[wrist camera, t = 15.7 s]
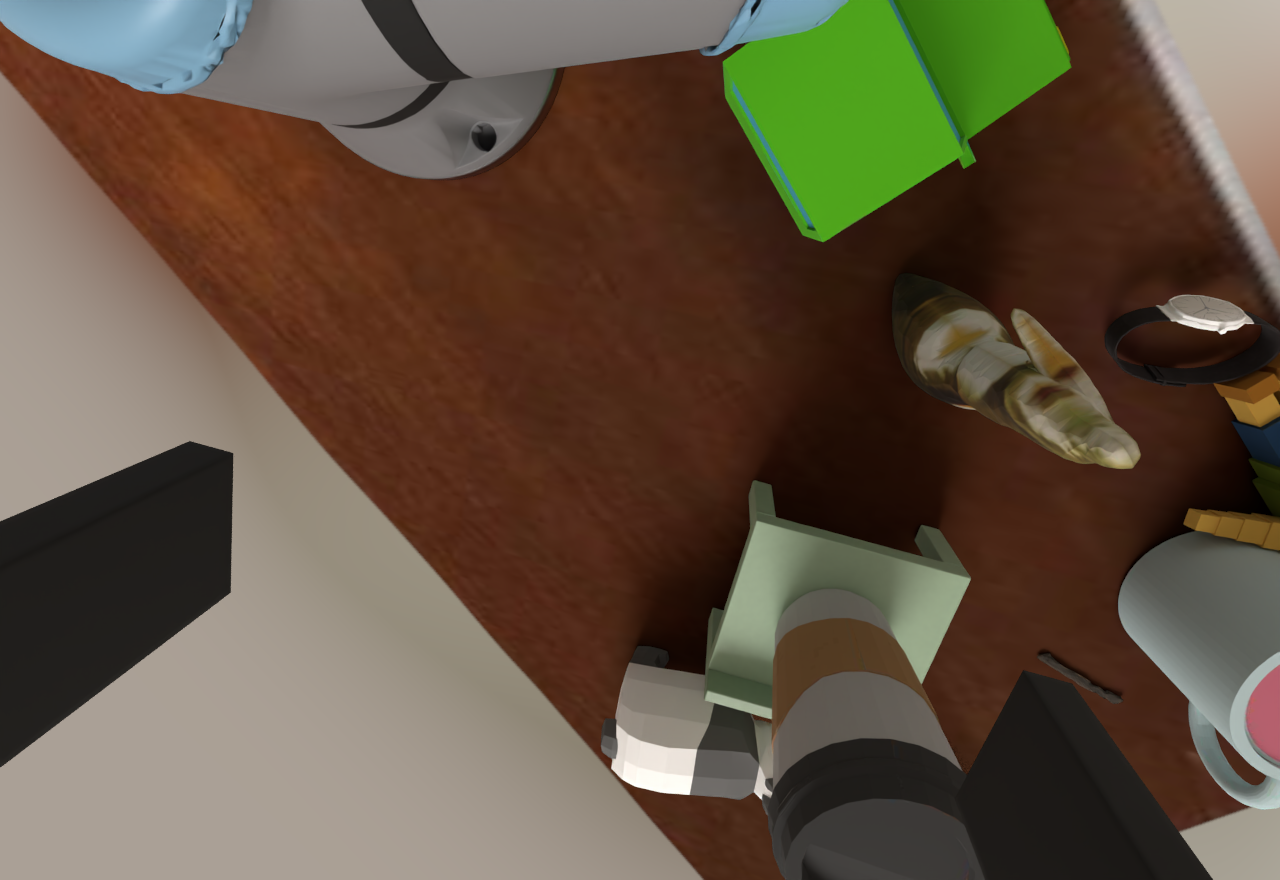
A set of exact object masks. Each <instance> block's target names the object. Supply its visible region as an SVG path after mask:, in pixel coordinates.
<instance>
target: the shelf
mask: <svg viewBox="0 0 1280 880" xmlns="http://www.w3.org/2000/svg"><path fill="white" fill-rule="evenodd" d="M749 512H750V531H749V535H748V538H747V541H746V544H745V547H744V550H743V553H742V556H741V559H740V562H739V565H738V568H737V571H736V574H735V577H734V580H733V584H732V587H731V590H730V593H729V596H728V599H727V602H726V605H725V608H724V610H720V609H716V608H713V609H712V611H711V615H710V618H709V621H708V637H707V654H706V670H705V688H704V700H705V701H709V702H712V703H716V704H719V705H723V706H727V707H730V708H734V709H737V710H741V711H744V712H748V713H751V714H755V715H758V716H762V717H765V718H769V719H772V689H773V658H774V655H775V631H776V628H777V624H778V621H779V619H780V618H781V616H782V615H783V613H784V611H785V610H786V609H787V608H788V607H789V606H790V605H791V604H792V603H793V602H794V601H795V600H797V599H798V598H799V597H801V596H803V595H805V594H807V593H809V592H812V591H817V590H821V589H841V590H846V591H850V592H853V593H855V594H857V595H859V596H861V597H864V598H866V599H868V600H869V601H870V602H872V603H873V604H874V605H875V606H876V607H878V608H879V609H880V611H881V612H882V614H883V615H884V617H885V618H886V620H887V621H888V623H889V625H890V627H891V629H892V631H893V633H894V635H895V637H896V639H897V641H898V643H899V645H900V646H901V647H902V649H903V650H904V652H905V653H906V655H907V657H908V659H909V661H910V663H911V665H912V667H913V669H914V671H915V673H916V675H917V677H918V679H919V681H920V683H921V684H922V682H923V680H924V678H925V675H926V673H927V671H928V669H929V667H930V665H931V663H932V661H933V658H934V656H935V654H936V652H937V650H938V648H939V646H940V644H941V641H942V639H943V637H944V635H945V633H946V631H947V629H948V627H949V624H950V622H951V620H952V618H953V616H954V614H955V612H956V610H957V608H958V605H959V603H960V601H961V599H962V597H963V595H964V593H965V591H966V588H967V586H968V584H969V582H970V580H971V577H970V576H969V574H968V573H967V571H966V570H965V568H964V567H963V565H962V564H961V562H960V561H959V559H958V557H957V556H956V554H955V553H954V551H953V550H952V548H951V547H950V545H949V544H948V542H947V541H946V539H945V537H944V536H943V534H942V533H941V531H940V530H939V529H936V528H932V527H928V526H924V525H921V526H920V529H919V531H918V533H917V536H916V538H915V542H916V544H917V546H918V548H919V550H920V551H921V553H922V555H923V557H922V556H918V555H915V554H911V553H907V552H904V551H900V550H896V549H892V548H889V547H885V546H881V545H878V544H874V543H870V542H866V541H863V540H859V539H855V538H852V537H848V536H844V535H840V534H837V533H833V532H829V531H825V530H822V529H818V528H814V527H811V526H807V525H803V524H799V523H796V522H792V521H788V520H785V519H781V518H777V517H776V515H775V508H774V501H773V494H772V487H771V485H770V484H766V483H763V482H759V481H755V480H754V481H753V483H752V486H751V489H750V492H749Z"/></svg>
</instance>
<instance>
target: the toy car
mask: <svg viewBox="0 0 1280 880" xmlns="http://www.w3.org/2000/svg"><path fill="white" fill-rule="evenodd" d="M1068 53H1069V51H1068V49H1067V47H1066V44H1065V42H1064V40H1063V38H1062V35H1061V33H1060V31H1059V28H1058V26H1056V25H1055V23H1054V21H1053V19H1052V16H1051V14H1050V12H1049V10H1048V7H1047V5H1046V3H1045V1H1044V0H849V1H848V2H847V3H846V4H845V5H843V6H842V7H840V8H839V9H838V10H837V11H836V12H835V13H834V14H833V15H832V16H831V17H830V18H829V19H828V20H827V21H826V22H824V23H823V24H821V25H820V26H817V27H815V28H813V29H811V30H808V31H805V32H801V33H796V34H790V35H785V36H779V37H774V38H768V39H763V40H757V41H751V42H749V43H748V44H746V45H745V46H744V47H742V48H741V49H740V50H738V51H737V52H735V53H734V54H733V55H731V56H730V57H729V58H727V59H726V60H725V61H723V72H724V87H725V98H726V100H727V102H728V104H729V105H730V107H731V109H732V111H733V112H734V114H735V116H736V118H737V119H738V121H739V123H740V125H741V127H742V128H743V130H744V132H745V134H746V135H747V137H748V139H749V141H750V143H751V144H752V146H753V148H754V150H755V151H756V153H757V155H758V157H759V159H760V160H761V162H762V164H763V166H764V167H765V169H766V171H767V173H768V175H769V176H770V178H771V180H772V182H773V183H774V185H775V187H776V189H777V191H778V192H779V194H780V196H781V198H782V199H783V201H784V203H785V205H786V207H787V208H788V210H789V212H790V214H791V215H792V217H793V219H794V221H795V223H796V224H797V226H798V228H799V230H800V231H801V233H802V235H803V236H806V237H809V238H812V239H815V240H818V241H821V242H824V241H826V240H828V239H829V238H831V237H832V236H834V235H836V234H837V233H839V232H840V231H842V230H844V229H845V228H847V227H848V226H850V225H852V224H853V223H855V222H856V221H858V220H860V219H861V218H863V217H864V216H866V215H868V214H869V213H871V212H872V211H874V210H876V209H877V208H879V207H880V206H882V205H884V204H885V203H887V202H888V201H890V200H892V199H893V198H895V197H897V196H898V195H900V194H901V193H903V192H905V191H906V190H908V189H909V188H911V187H913V186H914V185H916V184H917V183H919V182H921V181H922V180H924V179H925V178H927V177H929V176H930V175H932V174H933V173H935V172H937V171H938V170H940V169H941V168H943V167H945V166H946V165H948V164H949V163H951V162H953V161H954V160H956V159H957V158H959V160H960V162H961V165H962V167H963V169H964V168H966V167H967V166H969V165H971V164H972V163H974V162H976V159H975V157H974V155H973V153H972V150H971V148H970V146H969V143H968V139H969V138H971V137H972V136H974V135H975V134H977V133H978V132H979V131H981V130H982V129H984V128H985V127H987V126H988V125H990V124H991V123H992V122H994V121H995V120H997V119H998V118H1000V117H1001V116H1002V115H1004V114H1005V113H1007V112H1008V111H1010V110H1011V109H1012V108H1014V107H1015V106H1017V105H1018V104H1020V103H1021V102H1022V101H1024V100H1025V99H1027V98H1028V97H1030V96H1031V95H1033V94H1034V93H1035V92H1037V91H1038V90H1040V89H1041V88H1043V87H1044V86H1045V85H1047V84H1048V83H1050V82H1051V81H1053V80H1054V79H1055V78H1057V77H1058V76H1060V75H1061V74H1063V73H1064V72H1066V71H1067V70H1068V69H1070V68H1071V65H1070V63H1069V61H1070V60H1071V59H1070V57H1069V55H1068Z"/></svg>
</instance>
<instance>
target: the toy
mask: <svg viewBox="0 0 1280 880" xmlns="http://www.w3.org/2000/svg"><path fill="white" fill-rule="evenodd" d="M1213 384H1214V386H1215V387H1216V389H1217V391H1218V392H1219V394H1220V396H1222V397H1225V399H1226V401H1227V402H1228V404H1229V406H1230V407H1231V409H1232V411H1233V412H1234V414H1235V416H1236V417H1237V418H1236V419H1235V420H1233V421H1231V422H1232V424H1233V425H1234V427H1235V429H1236V430H1237V432H1238V434H1239V435H1240V437H1241V439H1242V440H1243V442H1244V444H1245V445H1246V447H1247V449H1248V450H1249V452H1250V454H1251V455H1252V458H1250V459H1248V460H1249V462H1250V464H1251V465H1252V467H1253V469H1254V470H1255V472H1256V474H1257V475H1258V477H1257V478H1256V479H1254V480H1252V482H1253V483H1254V485H1255V487H1256V488H1257V490H1258V492H1259V493H1260V495H1261V497H1262V498H1263V500H1264V502H1265V503H1266V505H1267V507H1268V508H1269V510H1270V512H1271V513H1272V515H1273V516H1270V515H1263V514H1257V513H1251V515H1250V514H1244V513H1237V512H1231V511H1228V512H1222V511H1216V510H1209V509H1207V511H1204V510H1197V509H1191V508H1189V510H1188V513H1187V515H1186V518H1185V520H1184V523H1183V524H1184V525H1186V526H1188V527H1190V528H1192V529H1194V530H1196V531H1202V532H1209V533H1211V534H1213V535H1215V536H1221V537H1227V538H1232V539H1234V540H1236V541H1242V542H1248V543H1254V544H1256V545H1258V546H1260V547H1262V548H1268V549H1274V550H1280V353H1279V354H1278V355H1277V356H1276V357H1275V358H1274V359H1273V360H1272V361H1271V362H1270V363H1268V364H1267V365H1265V366H1264V367H1262V368H1260V369H1259V370H1257V371H1255V372H1252V373H1250V374H1248V375H1246V376H1243V377H1240V378H1236V379H1233V380H1230V381H1225V382H1219V383H1213Z"/></svg>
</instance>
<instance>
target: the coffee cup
mask: <svg viewBox="0 0 1280 880" xmlns="http://www.w3.org/2000/svg"><path fill="white" fill-rule="evenodd" d="M772 753H773V792H772V796H771V799H770V802H769V805H768V826H769V831H770V834H771V837H772V849H773V854H774V857H775V859H776V862H777V864H778V867H779V869H780V872H781V874H782V875H783V877H784V878H785V879H786V880H985V878H984V875H983V873H982V870H981V868H980V865H979V862H978V860H977V857H976V854H975V852H974V849H973V846H972V844H971V841H970V838H969V836H968V833H967V830H966V828H965V825H964V823H963V820H962V817H961V815H960V812H959V809H958V807H957V804H956V801H955V797H956V795H957V794H958V792H959V790H960V788H961V786H962V784H963V782H964V780H965V779H966V777H967V775H966V774H965V773H964V772H963V771H962V769H961V767H960V765H959V763H958V761H957V759H956V757H955V755H954V753H953V751H952V749H951V747H950V745H949V743H948V741H947V739H946V737H945V735H944V733H943V731H942V728H941V726H940V723H939V720H938V717H937V714H936V712H935V710H934V708H933V706H932V705H931V703H930V701H929V699H928V697H927V695H926V693H925V691H924V689H923V687H922V685H921V683H920V681H919V679H918V677H917V675H916V673H915V671H914V669H913V667H912V665H911V663H910V661H909V659H908V657H907V655H906V653H905V652H904V650H903V649H902V647H901V646H900V645H899V643H898V641H897V639H896V637H895V635H894V633H893V631H892V629H891V627H890V625H889V623H888V621H887V620H886V618H885V617H884V615H883V614H882V612H881V611H880V609H879V608H878V607H876V606H875V605H874V604H873V603H872V602H870V601H869V600H868V599H866V598H864V597H861V596H859V595H857V594H855V593H853V592H850V591H846V590H841V589H821V590H817V591H812V592H809V593H807V594H805V595H803V596H801V597H799V598H798V599H797V600H795V601H794V602H793V603H792V604H791V605H790V606H789V607H788V608H787V609H786V610H785V611H784V613H783V615H782V616H781V618H780V619H779V621H778V624H777V628H776V631H775V655H774V658H773V689H772Z"/></svg>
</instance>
